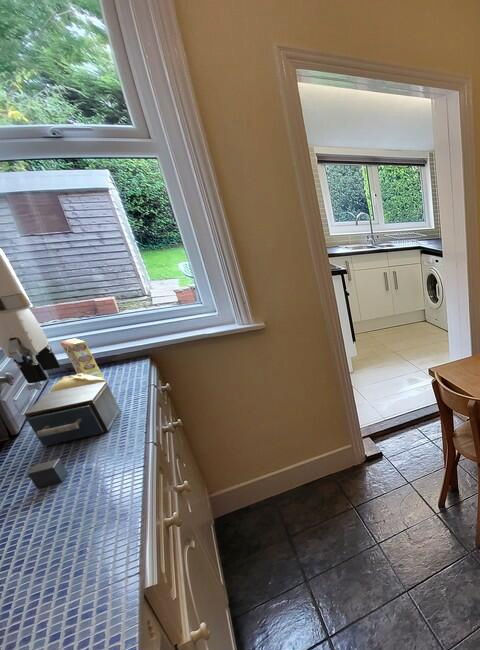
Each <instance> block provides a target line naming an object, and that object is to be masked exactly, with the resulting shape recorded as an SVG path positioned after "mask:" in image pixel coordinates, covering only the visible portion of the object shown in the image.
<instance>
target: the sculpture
mask: <svg viewBox="0 0 480 650" xmlns="http://www.w3.org/2000/svg"><path fill="white" fill-rule="evenodd" d="M104 379H105V378H104ZM104 379H103V378H101V377H94V376H90V375H87V374H84V373H79V374H77V373H75V374H73V375H68V376H62V377H61V379H60V380H59V381H57V382H56V383H54V384H53V386H52V387H51V388H50V392H54V391H59V390H65V389H70V388H75V387H80V386H85V385H91V384H96V383H101V382H107V381H106V379H105V380H104Z"/></svg>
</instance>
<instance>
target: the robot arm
mask: <svg viewBox="0 0 480 650" xmlns="http://www.w3.org/2000/svg"><path fill="white" fill-rule="evenodd" d="M31 308H33V304H32V302H31V300H30V298H29V297H28V295H27V293H26V292H25V289H24V288H23V286H22V284H21V282H20V280H19V278H18V276H17V274H16V273H15V271H14V269H13V267H12V266H11V264H10V261H9V260H8V258H7V257H6V255H5V253H4V251H3V249H2V248H0V348H1V350H2V352H3V354H4V355H5V358H9V359H12V360H13V363H15V364H16V366H17V368H18V369H19V370H20V372H21V374H22V375H23V377H24V379H25V380H26V382H27V383H28V384H34V383H42V382H45V381H46V382H47V381H48V379H49V377H48V375H47V374H46V372H45V371H49V370H50V371H51V370H55V369H59V368H61V364H60V362H59V360H58V359H57V357H56V355H55V353H54V351H53V348H52V347H50V346H49V339H48V338H47V335H46V334H45V332H44V330H43V328H42V327H41V325H40V323H39V321H38V320H37V318H36V316H35V315H34V313H33V312H32V311H31Z"/></svg>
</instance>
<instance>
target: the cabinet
mask: <svg viewBox="0 0 480 650" xmlns="http://www.w3.org/2000/svg"><path fill="white" fill-rule="evenodd" d="M89 403H90V406H91V407H92V409H93V411H94V413H95V415H96V417H97V419H98V420H99V422H100V424H101V426H102V428H103V430H104V431H103V432H101V433H97V434H93V435H89V436H84V437H80V438H76V439H72V440H67V441H63V442H59V443H55V444H50V445H46V446H43V447H44V448H45V447H50V446H54V445H58V444H62V443H66V442H70V441H75V440H79V439H83V438H88V437H92V436H96V435H100V434H105V433H109V432H110V430H111V428H112V427H113V425H114V424H115V422H116V420H117V418H118V416H119V414H120V413H121V408H120V407H119V404H118V402H117V401H116V398H115V397H114V395H113V393H112V390H111V388H110V386H109V385H108V383H107V381H106V382H101V383H96V384H91V385H85V386H80V387H75V388H70V389H65V390H59V391H54V392H46V393H44V394H43V395H42V396H41V397H40V398H39V399H38V400H37V401H36V402H35V403H34V404H33V405H32V406H31V407H30V408H28V410H26V411H25V412H24V413H23V414H24V416H25V418H26V419H27V418H28V417H33V416H35V415H36V414H41V413H46V412H51V411H56V410H60V409H65V408H70V407H75V406H80V405H84V404H89Z"/></svg>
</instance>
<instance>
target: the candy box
mask: <svg viewBox="0 0 480 650" xmlns="http://www.w3.org/2000/svg"><path fill="white" fill-rule="evenodd" d="M60 345H61V347H62V349H63V351H64V352H65V354H66V356H67V358H68V360H69V361H70V363H71V365H72V367H73V369H74V370H75V372H76V374H79V373H84V374H87V375H90V376H94V377H101V378H103V379H104V380H105V381H106V379H105V377H104V375H103V373H102V371H101V369H100V368H99V366H98V364H97V362H96V360H95V357H94V356H93V354H92V352H91V350H90V348H89V346H88V344H87V342H86V341H84V340H81V339H78V338H71V339H67V340H62V341H60Z"/></svg>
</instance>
